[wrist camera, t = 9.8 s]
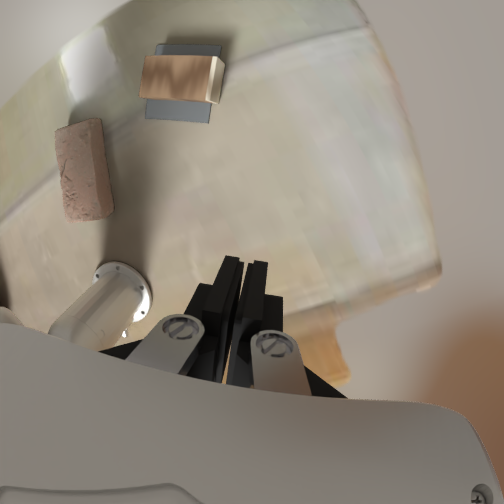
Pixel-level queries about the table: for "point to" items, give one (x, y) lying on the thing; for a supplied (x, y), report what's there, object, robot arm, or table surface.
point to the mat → (181, 108)
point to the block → (182, 78)
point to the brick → (84, 171)
